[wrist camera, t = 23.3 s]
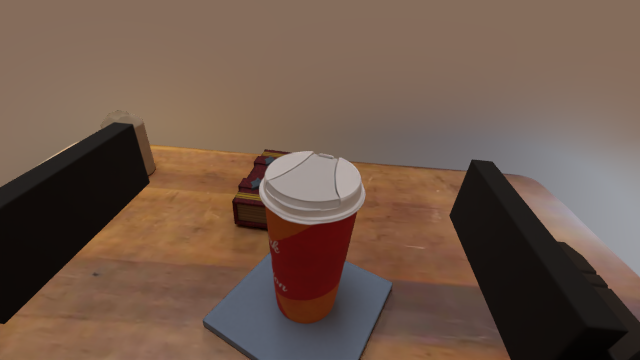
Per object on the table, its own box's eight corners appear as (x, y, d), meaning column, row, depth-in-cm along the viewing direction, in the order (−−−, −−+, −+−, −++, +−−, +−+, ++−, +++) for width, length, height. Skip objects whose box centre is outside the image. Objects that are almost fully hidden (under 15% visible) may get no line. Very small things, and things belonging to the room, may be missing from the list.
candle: (162, 169, 51) (148, 112, 45) (130, 183, 47) (110, 123, 41) (143, 159, 53) (127, 104, 48) (110, 172, 49) (89, 114, 44)
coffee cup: (285, 257, 35) (285, 140, 27) (353, 277, 33) (376, 160, 25) (249, 319, 28) (235, 190, 20) (332, 350, 27) (354, 221, 18)
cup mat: (203, 326, 29) (202, 319, 28) (288, 239, 39) (288, 233, 39) (332, 417, 23) (334, 412, 23) (391, 288, 34) (393, 283, 33)
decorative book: (232, 227, 40) (228, 197, 38) (266, 167, 54) (265, 142, 51) (316, 239, 39) (318, 209, 37) (329, 175, 53) (331, 150, 50)
